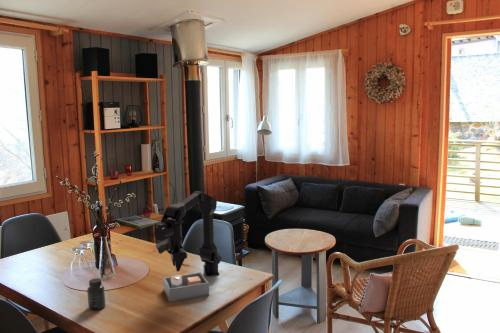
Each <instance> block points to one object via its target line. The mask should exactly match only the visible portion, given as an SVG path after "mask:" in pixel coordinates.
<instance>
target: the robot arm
mask: <svg viewBox="0 0 500 333" xmlns="http://www.w3.org/2000/svg"><path fill="white" fill-rule="evenodd" d="M217 203H218V201H217V198H216V197H214V196H211V195H209V194H206V193H205V192H204V191H199V190H198V191H197V190H195V191H193V192H192V194H190V195H188V196H187V197H186V198H184V199H182V200H181V201H180V202H178V203H172V204H170V205H168V206H167V207H166V208H165V210H164V213H163V215H162V218H161V221H160V223H158V224H157V227H156V228H155V229H154V231H153V234H154V237H155V239H156V240H158V241H159V242H158V243H156V244H155V248H156V251H157V252H158V254H159V255H160V254H163V253H164V252H167V253H168V254H169V255H170V259H171V262H172V265H173V267H175V270H176V272H180V270H181V268H182V266H183V264H184V262H185V260H186V259H188V253H187V251H186V250H184V246H183V240H184V236H183V235H182V234H183V233H182V230H183V229H182V224H184V223H185V220H184V219H183V218H184V217H185V216H186V213H187V211H189V210H190V209H192V208H193V207H194V206H196V205H197V204H198V207H199V211H200V212H201V214H202V236H203V237H202V240H203V242H202V243H203V244H202V245H201V246H199V250H198V251H199V253H198V254H199V258H200V260H201V262H202V263H204V264H203V275H205V276H206V277H213V276H219V275H220V273H219V264H220V263H221V261H222V257H221V255H220V254H219V253H218V248H217V246H216V244H215V242H214V240H215V239H214V214H215V212H216V210H217V205H218V204H217Z"/></svg>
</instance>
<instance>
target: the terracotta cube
mask: <svg viewBox="0 0 500 333" xmlns="http://www.w3.org/2000/svg"><path fill="white" fill-rule="evenodd" d="M200 283H201V280H200V278H199V277H198V276H196V277H189V278H187V284H188V285H194V284H200Z"/></svg>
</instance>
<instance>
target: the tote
mask: <svg viewBox="0 0 500 333" xmlns="http://www.w3.org/2000/svg"><path fill="white" fill-rule="evenodd" d="M180 276H182V287H176V288H171V277H172V276H165V277H163V278H162V284H163V291H164V294H165V296H166V298H167V300H168V302H169V303H172V302H177V301H178V302H179V301H184V300H189V299H190V300H191V299H196V298H202V297H208V296H210V283H209V282H208V280H207V279H206V277H205V276H204V274H203V273H202V272H201V271H199V272H193V273H187V274H180ZM196 276H198V277H199V278H200V280H201V283H200V284H194V285H188V284H187V278H189V277H196Z"/></svg>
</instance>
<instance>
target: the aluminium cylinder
mask: <svg viewBox="0 0 500 333" xmlns="http://www.w3.org/2000/svg"><path fill="white" fill-rule="evenodd" d="M180 275H181V274H180ZM180 275H179V274H176V275H172V276H170V277H171V288H176V287H182V276H180Z"/></svg>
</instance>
